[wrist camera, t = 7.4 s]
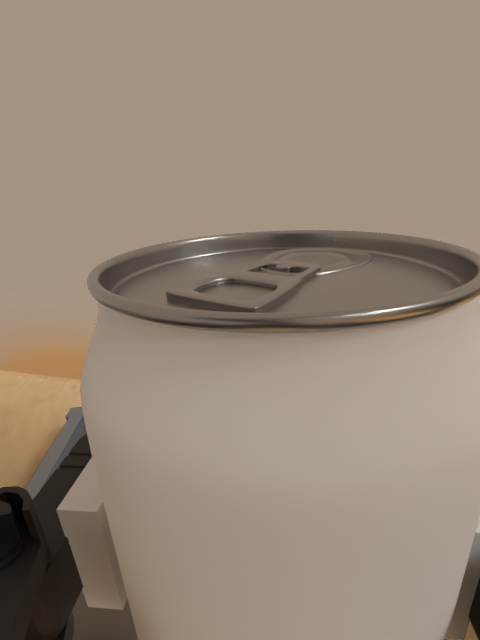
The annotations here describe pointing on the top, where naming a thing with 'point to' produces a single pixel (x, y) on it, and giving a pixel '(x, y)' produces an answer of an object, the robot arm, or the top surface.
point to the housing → (89, 622)
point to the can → (288, 433)
